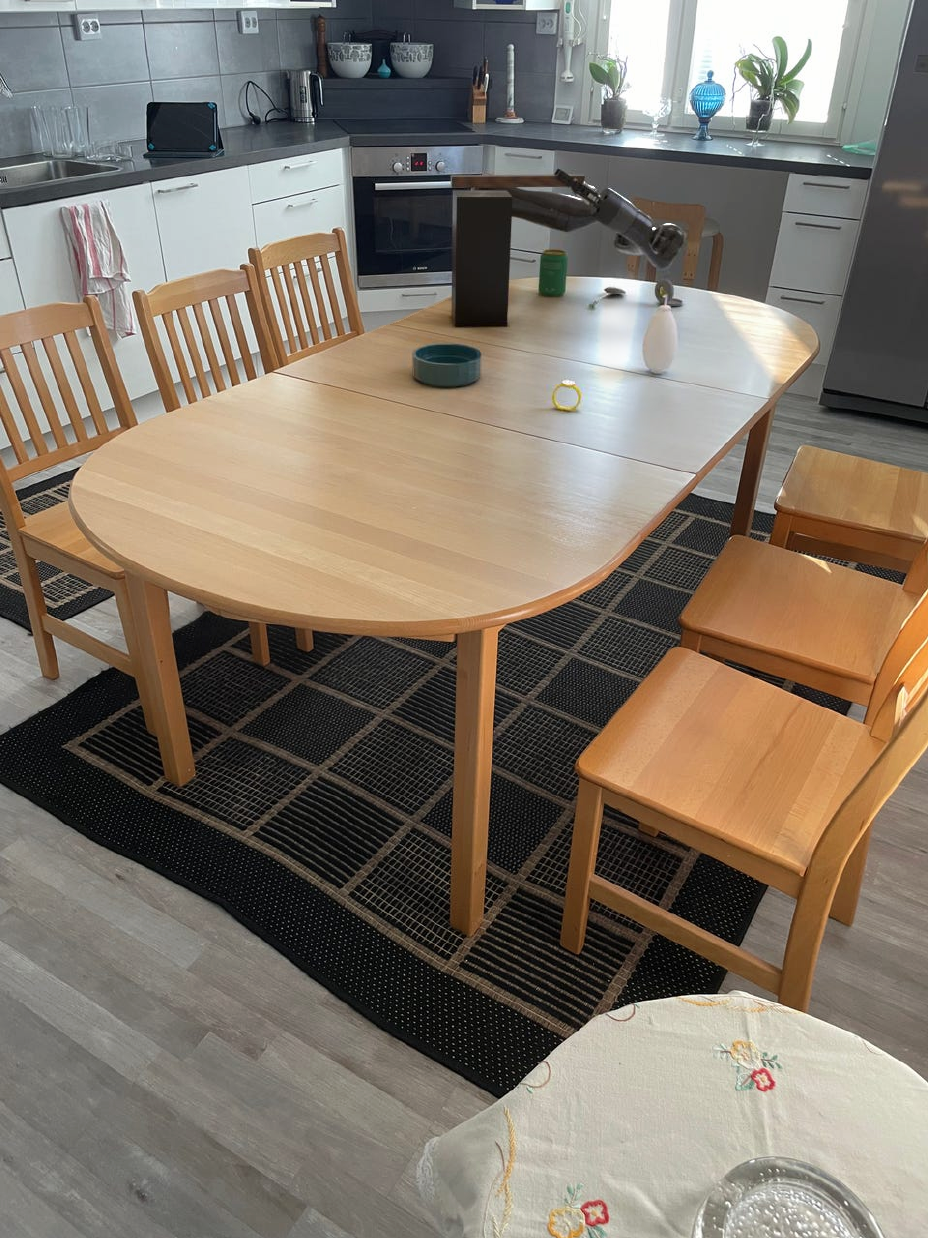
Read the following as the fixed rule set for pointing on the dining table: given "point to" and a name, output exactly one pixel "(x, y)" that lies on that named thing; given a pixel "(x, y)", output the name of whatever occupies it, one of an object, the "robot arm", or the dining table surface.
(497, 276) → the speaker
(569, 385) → the gold diamond ring
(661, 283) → the pocket watch
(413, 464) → the dining table surface
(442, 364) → the bowl
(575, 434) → the dining table surface
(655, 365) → the sauce bottle
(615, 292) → the soupspoon
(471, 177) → the stick
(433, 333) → the dining table surface
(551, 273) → the beverage can
